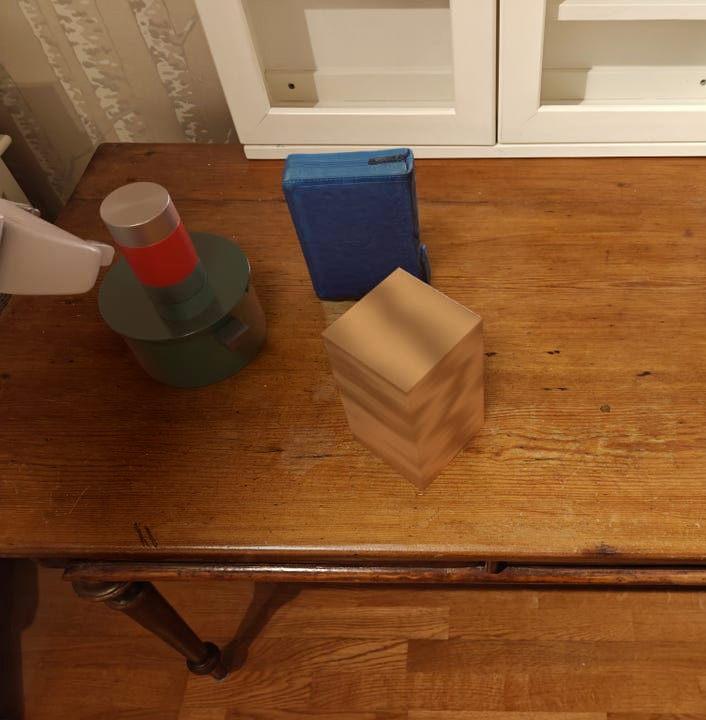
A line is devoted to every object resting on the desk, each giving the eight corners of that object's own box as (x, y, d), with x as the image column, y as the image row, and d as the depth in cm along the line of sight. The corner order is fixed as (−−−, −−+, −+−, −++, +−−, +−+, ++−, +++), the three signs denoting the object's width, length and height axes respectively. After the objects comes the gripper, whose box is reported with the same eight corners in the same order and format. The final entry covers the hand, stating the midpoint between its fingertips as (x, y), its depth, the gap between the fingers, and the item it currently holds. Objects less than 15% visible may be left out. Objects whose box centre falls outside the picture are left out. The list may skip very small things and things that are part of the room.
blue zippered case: (431, 271, 89) (419, 138, 73) (432, 302, 86) (419, 170, 70) (318, 277, 89) (281, 144, 73) (315, 308, 86) (275, 177, 70)
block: (423, 491, 71) (406, 392, 56) (353, 438, 75) (320, 333, 60) (484, 425, 76) (483, 318, 61) (415, 378, 79) (398, 267, 65)
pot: (201, 425, 76) (169, 375, 68) (97, 337, 83) (58, 284, 76) (309, 334, 83) (291, 280, 76) (205, 261, 91) (179, 205, 83)
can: (169, 314, 73) (125, 236, 64) (132, 285, 75) (85, 207, 67) (218, 278, 76) (183, 199, 67) (181, 252, 78) (142, 172, 70)
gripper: (-198, 207, 53) (-14, 228, 66) (-23, 309, 47) (141, 310, 60) (-183, 126, 52) (1, 163, 65) (-2, 220, 46) (161, 241, 59)
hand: (70, 235), depth 62 cm, fingers open, 8 cm apart
